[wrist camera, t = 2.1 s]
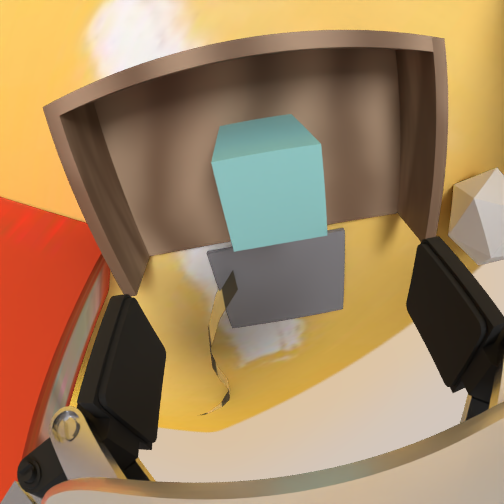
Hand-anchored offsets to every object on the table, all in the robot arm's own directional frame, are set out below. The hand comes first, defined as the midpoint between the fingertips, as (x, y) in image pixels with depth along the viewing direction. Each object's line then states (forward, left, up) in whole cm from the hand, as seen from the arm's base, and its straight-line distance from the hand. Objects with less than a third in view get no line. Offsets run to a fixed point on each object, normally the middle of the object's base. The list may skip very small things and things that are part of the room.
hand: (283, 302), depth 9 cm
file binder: (+23, +3, -15) cm, 27 cm away
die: (-20, +7, -15) cm, 26 cm away
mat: (0, +13, -15) cm, 20 cm away
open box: (0, 0, -15) cm, 15 cm away
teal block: (0, 0, -14) cm, 14 cm away
